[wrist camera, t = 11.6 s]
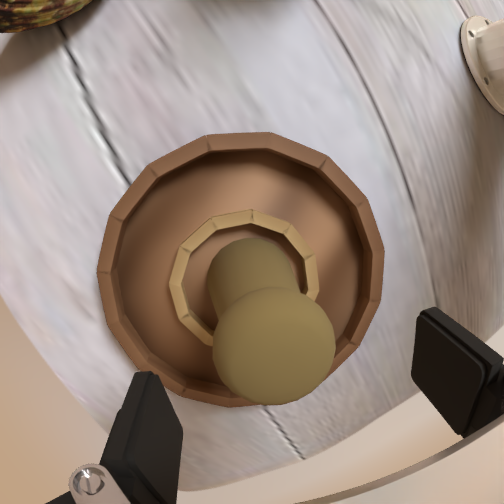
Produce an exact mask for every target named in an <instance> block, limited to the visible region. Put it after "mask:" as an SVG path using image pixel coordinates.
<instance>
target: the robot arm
mask: <svg viewBox="0 0 504 504" xmlns="http://www.w3.org/2000/svg"><path fill="white" fill-rule="evenodd" d="M461 41H462V47H463V51H464V55H465V58H466V61H467V64H468V66H469V68H470V71H471V73H472V75H473V77H474V79H475V81H476V83H477V85H478V86H479V88H480V90H481V92H482V93H483V94H484V96H485V97H486V99H487V100H488V101H489V102H490V104H491V105H492V106H493V107H494V108H495V109H496V110H497V111H498V112H499V113H501V114H502V115H504V19H501V20H499V21H496V22H494V23H493V22H491V21H490V20H488V19H486V18H484V17H481V16H472V17H470V18H468V19H466V20H465V21H464V23H463V25H462V28H461ZM503 360H504V358H503V357H502V356H500V355H499V354H498V353H497V352H495V351H494V350H493V349H491V348H490V347H489V346H488V345H486V344H485V343H484V342H482V341H481V340H480V339H478V338H477V337H476V336H475V335H473V334H472V333H471V332H469V331H468V330H467V329H465V328H464V327H463V326H461V325H460V324H459V323H457V322H456V321H454V320H453V319H452V318H450V317H449V316H448V315H446V314H445V313H443V312H442V311H441V310H439V309H438V308H436V307H432V308H429V309H426V310H423V311H421V312H420V315H419V316H418V317H417V321H416V333H415V344H414V353H413V362H412V369H411V376H412V379H413V381H414V382H415V384H416V385H417V386H418V387H419V388H420V390H421V391H422V392H423V393H424V394H425V396H426V397H427V398H428V399H429V401H430V402H431V403H432V404H433V405H434V407H435V408H436V409H437V410H438V412H439V413H440V414H441V415H442V417H443V418H444V419H445V420H446V422H447V423H448V424H449V425H450V427H451V428H452V429H453V430H454V432H455V433H456V434H458V435H460V434H461V436H462V437H463V438H464V439H463V440H461V441H459V442H458V443H456V444H454V445H452V446H451V447H449V448H447V449H445V450H443V451H441V452H439V453H437V454H435V455H433V456H431V457H429V458H427V459H425V460H423V461H421V462H419V463H417V464H415V465H412V466H410V467H408V468H405V469H403V470H401V471H398V472H396V473H394V474H391V475H389V476H386V477H384V478H381V479H378V480H376V481H373V482H370V483H367V484H364V485H361V486H358V487H355V488H352V489H349V490H346V491H343V492H339V493H336V494H333V495H329V496H325V497H321V498H317V499H313V500H309V501H305V502H300V503H295V504H504V365H503V364H502V363H503ZM182 441H183V429H182V426H181V424H180V422H179V419H178V417H177V415H176V413H175V411H174V409H173V407H172V404H171V402H170V400H169V398H168V396H167V393H166V391H165V389H164V386H163V384H162V382H161V379H160V377H159V375H157V374H154V373H153V372H152V371H144V372H136V373H135V374H134V376H133V379H132V382H131V384H130V387H129V389H128V392H127V395H126V397H125V400H124V402H123V405H122V408H121V409H120V410H119V411H118V413H117V416H116V418H115V421H114V424H113V426H112V429H111V432H110V435H109V437H108V440H107V443H106V446H105V449H104V452H103V454H102V457H101V460H100V463H99V464H86V465H83V466H81V467H79V468H78V469H76V470H75V471H74V472H73V473H72V475H71V477H70V479H69V489H70V491H68V492H67V493H65V494H63V495H61V496H59V497H57V498H55V499H53V500H52V501H50V502H48V503H46V504H176V500H177V489H178V478H179V468H180V459H181V450H182Z"/></svg>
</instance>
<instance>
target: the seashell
mask: <svg viewBox="0 0 504 504" xmlns="http://www.w3.org/2000/svg"><path fill="white" fill-rule="evenodd" d="M91 1H92V0H0V33H13V32H21V31H25V30H30V29H34V28H37V27H40V26H45V25H49V24H52V23H55V22H57V21H59V20H62V19H64V18H66V17H68V16H69V15H71V14H73V13H75V12H77V11H79V10H81V9H82V8H83V7H84V6H86V5H87V4H89V3H90V2H91Z"/></svg>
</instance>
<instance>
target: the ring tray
mask: <svg viewBox="0 0 504 504" xmlns="http://www.w3.org/2000/svg"><path fill="white" fill-rule="evenodd" d="M206 136H207V138H206ZM206 136H205V135H204V136H202V137H200V138H198V139H196V140H194V141H192V142H190V143H188V144H186V145H184V146H182V147H180V148H178V149H176V150H174V151H172V152H170V153H169V154H167V155H165V156H163V157H161V158H159V159H157V160H155V161H154V162H152V163H150V164H148V165H147V166H146V167H145V169H144V170H143V171H142V172H141V174H140V175H139V176H138V177H137V179H136V180H135V181H134V182H133V184H132V185H131V186H130V187H129V189H128V190H127V191H126V193H125V194H124V195H123V197H122V198H121V199H120V201H119V202H118V203H117V205H116V206H115V207H114V209H113V210H112V211H111V213H110V215H109V218H108V222H107V226H106V230H105V234H104V238H103V243H102V247H101V252H100V256H99V261H98V266H97V277H98V283H99V288H100V293H101V298H102V303H103V307H104V312H105V316H106V321H107V325H108V327H109V328H110V330H111V331H112V333H113V334H114V336H115V337H116V339H117V340H118V341H119V343H120V344H121V346H122V347H123V349H124V350H125V352H126V353H127V354H128V356H129V357H130V358H131V360H132V361H133V363H134V364H135V365H136V367H137V368H138V367H139V368H138V369H139V370H141V371H142V372H144V371H152V372H153V373H154V374H157V375H159V377H160V379H161V382H162V384H163V386H165V387H166V388H168V389H169V390H171V391H173V392H174V393H176V394H177V395H179V396H180V395H181V397H185V398H189V399H193V400H197V401H201V402H206V403H210V404H214V405H219V406H224V407H229V408H230V407H241V406H251V405H260V404H257V403H252V402H249V401H247V400H246V399H244V398H242V397H240V396H238V395H237V394H235V393H233V392H232V391H231V390H230V389H229V388H228V387H227V386H226V385H225V384H224V383H223V381H222V380H221V378H220V376H219V374H218V372H217V369H216V367H215V364H214V361H213V334H214V332H215V329H216V327H217V324H218V322H219V320H218V317H217V314H216V311H215V308H214V305H213V302H212V299H211V296H210V293H209V290H208V287H207V272H208V269H209V267H210V264H211V261H212V259H213V258H214V257H215V256H216V254H217V253H218V252H219V251H220V249H222V248H223V247H225V246H226V245H228V244H229V243H231V242H233V241H236V240H240V239H244V238H260V239H263V240H265V241H268V242H271V243H273V244H274V245H275V246H277V247H278V248H279V249H280V250H281V251H283V253H284V254H285V256H286V257H287V259H288V261H289V262H290V265H291V268H292V270H293V273H294V276H295V279H296V281H297V284H298V287H299V290H300V293H302V294H305V295H307V296H308V297H309V298H311V299H312V300H313V301H314V302H316V303H317V304H318V305H319V306H320V307H321V308H322V309H323V310H324V312H325V313H326V315H327V317H328V319H329V320H330V322H331V324H332V326H333V331H334V337H335V344H336V350H335V354H334V359H333V363H332V366H331V368H330V370H329V372H328V373H327V375H326V377H325V378H324V380H325V379H326V378H327V377H328V376H329V375H330V374H332V373H333V372H334V371H335V370H336V369H337V368H338V367H339V366H340V365H341V364H342V363H343V362H344V361H345V360H346V359H347V358H348V357H349V356H350V355H351V354H352V353H353V352H354V351H355V350H356V349H357V348H358V346H359V345H360V343H361V341H362V339H363V337H364V335H365V333H366V331H367V329H368V327H369V325H370V323H371V321H372V319H373V317H374V315H375V313H376V310H377V308H378V306H379V304H380V301H381V294H382V282H383V269H384V252H385V250H384V246H383V243H382V240H381V236H380V233H379V230H378V227H377V224H376V221H375V218H374V216H373V213H372V210H371V207H370V204H369V202H368V199H366V198H367V197H366V196H365V195H364V194H363V193H362V192H361V191H360V189H359V188H358V187H357V186H356V185H355V184H354V183H353V182H352V181H351V180H350V178H349V177H348V176H347V175H346V174H345V173H344V172H343V171H342V170H341V169H340V168H339V167H338V166H337V165H336V164H335V163H334V162H333V160H332V159H331V158H330V157H329V156H327V155H325V154H323V153H320V152H318V151H316V150H313V149H311V148H309V147H306V146H304V145H302V144H299V143H297V142H294V141H292V140H289V139H287V138H284V137H282V136H279V135H277V134H274V133H272V132H271V133H270V132H255V133H228V134H211V135H206ZM324 380H323V381H324Z"/></svg>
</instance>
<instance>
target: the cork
mask: <svg viewBox="0 0 504 504" xmlns="http://www.w3.org/2000/svg"><path fill="white" fill-rule="evenodd" d="M207 287H208V290H209V293H210V296H211V299H212V302H213V305H214V308H215V311H216V314H217V317H218V320H219V322H218V324H217V327H216V329H215V332H214V334H213V361H214V364H215V367H216V369H217V372H218V374H219V376H220V378H221V380H222V381H223V383H224V384H225V385H226V386H227V387H228V388H229V389H230V390H231V391H232V392H233V393H235V394H237V395H238V396H240V397H242V398H244V399H246V400H247V401H249V402H252V403H257V404H261V405H283V404H286V403H290V402H293V401H296V400H299V399H300V398H302V397H304V396H306V395H307V394H309V393H311V392H312V391H313V390H314V389H315V388H316V387H317V386H318V385H320V384H321V383H322V382H323V380H324V378H325V377H326V375H327V373H328V372H329V370H330V368H331V366H332V363H333V359H334V354H335V350H336V344H335V337H334V331H333V326H332V324H331V322H330V320H329V319H328V317H327V315H326V313H325V312H324V310H323V309H322V308H321V307H320V306H319V305H318V304H317V303H316V302H314V301H313V300H312V299H311V298H309V297H308V296H307V295H305V294H302V293H300V290H299V287H298V284H297V281H296V279H295V276H294V273H293V270H292V268H291V265H290V262H289V261H288V259H287V257H286V256H285V254H284V253H283V251H281V250H280V249H279V248H278V247H277V246H275V245H274V244H273V243H271V242H268V241H265V240H263V239H260V238H244V239H240V240H236V241H233V242H231V243H229V244H228V245H226V246H225V247H223V248H222V249H220V251H219V252H218V253H217V254H216V256H215V257H214V258H213V259H212V261H211V264H210V267H209V269H208V272H207Z"/></svg>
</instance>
